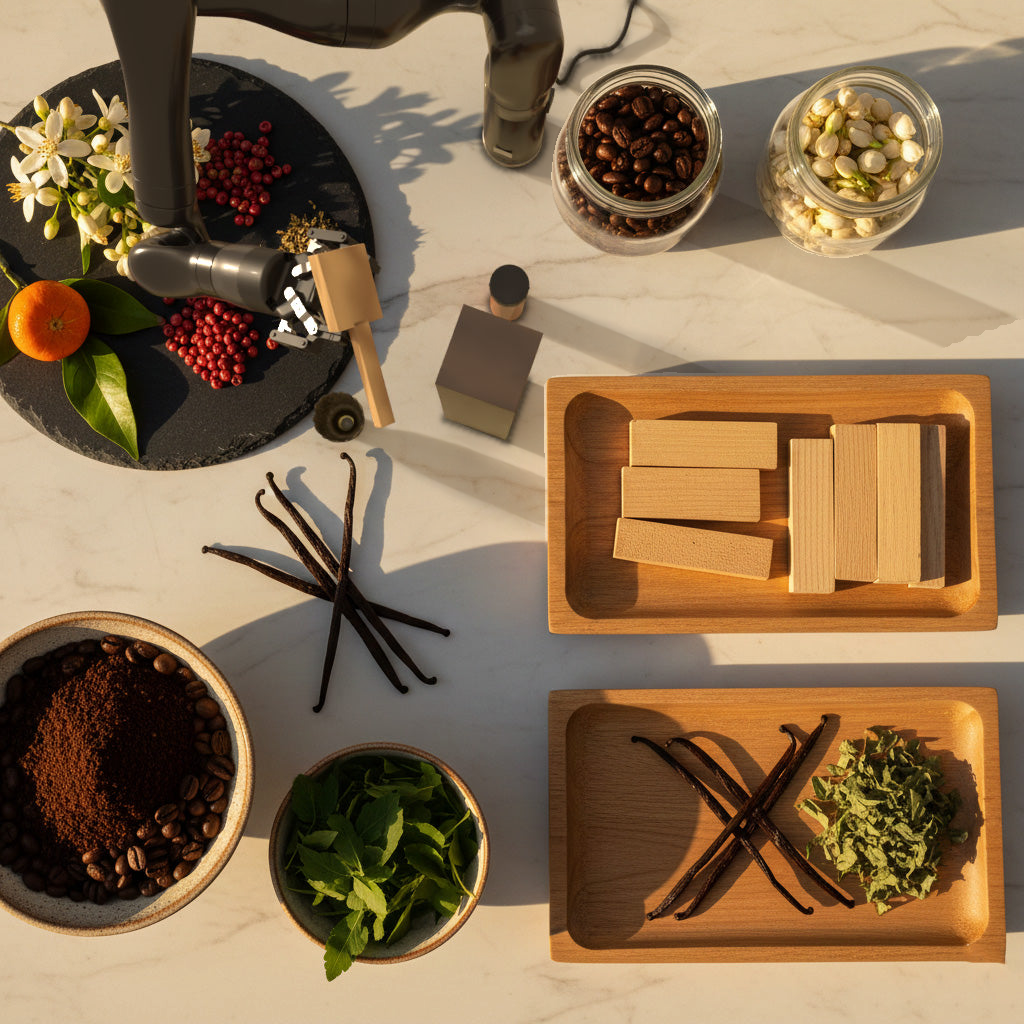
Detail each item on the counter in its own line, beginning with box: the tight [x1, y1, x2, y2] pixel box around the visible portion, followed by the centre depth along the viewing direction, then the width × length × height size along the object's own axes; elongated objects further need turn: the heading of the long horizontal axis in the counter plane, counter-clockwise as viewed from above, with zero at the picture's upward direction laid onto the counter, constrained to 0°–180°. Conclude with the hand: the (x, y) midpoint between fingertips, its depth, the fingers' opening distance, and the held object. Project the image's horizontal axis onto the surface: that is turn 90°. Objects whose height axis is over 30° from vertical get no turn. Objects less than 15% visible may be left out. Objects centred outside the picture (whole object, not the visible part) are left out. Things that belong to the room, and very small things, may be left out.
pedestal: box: [434, 303, 544, 441], centre depth 109 cm, size 10×10×31 cm
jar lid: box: [488, 263, 531, 308], centre depth 115 cm, size 6×6×2 cm
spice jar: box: [489, 295, 526, 322], centre depth 120 cm, size 5×5×10 cm
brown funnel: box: [311, 391, 366, 444], centre depth 120 cm, size 8×7×8 cm
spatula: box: [308, 243, 396, 429], centre depth 88 cm, size 6×20×2 cm
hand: (363, 301), depth 88 cm, fingers closed on spatula, 7 cm apart
